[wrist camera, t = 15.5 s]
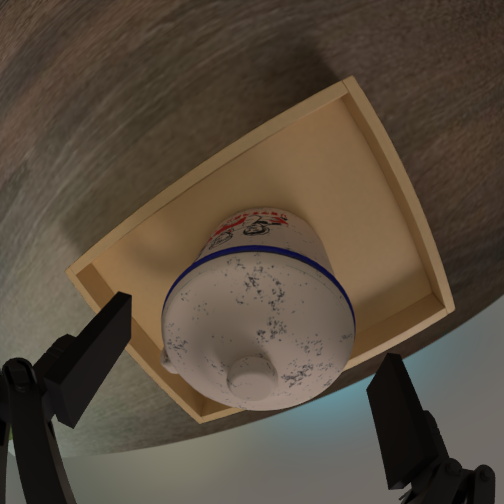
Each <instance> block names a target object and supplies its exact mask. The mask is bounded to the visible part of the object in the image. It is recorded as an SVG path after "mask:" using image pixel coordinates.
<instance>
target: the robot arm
mask: <svg viewBox="0 0 504 504" xmlns="http://www.w3.org/2000/svg"><path fill="white" fill-rule="evenodd" d="M131 322H132V295H130V294H127V293H124V292H120V291H118V292H117V293H116V294H115V295H114V296H113V297H112V298H111V300H110V301H109V302H108V303H107V304H106V305H105V306H104V307H103V308H102V309H101V310H100V311H99V313H98V314H97V315H96V316H95V317H94V318H93V319H92V320H91V321H90V323H89V324H88V325H87V326H86V327H85V328H84V329H83V330H82V332H81V333H80V334H79V335H78V336H77V337H74V336H72V335H69V334H66V335H64V336H62V337H60V338H58V339H57V340H56V341H55V342H54V343H53V344H52V346H51V347H50V348H49V349H48V350H47V351H46V353H44V354H43V355H42V357H41V358H40V359H39V360H38V361H37V362H36V363H35V364H34V366H33V367H32V364H31V363H30V362H29V361H28V360H26V359H24V358H17V357H16V358H12V359H10V360H8V361H7V362H6V363H5V364H4V365H3V367H2V373H3V376H4V377H3V376H0V504H5V492H6V489H5V488H6V466H7V453H8V442H9V434H10V426H11V429H12V436H13V443H14V449H15V455H16V460H17V465H18V470H19V475H20V480H21V483H22V488H23V491H24V496H25V499H26V503H27V504H77V503H76V501H75V498H74V495H73V493H72V490H71V487H70V484H69V481H68V478H67V475H66V472H65V469H64V466H63V462H62V459H61V455H60V452H59V448H58V444H57V441H56V437H55V433H54V428H53V424H52V421H51V419H52V417H53V416H54V414H56V417H57V419H58V421H59V422H61V423H63V424H65V425H67V426H69V427H71V428H73V429H74V427H75V426H76V424H77V422H78V421H79V419H80V417H81V416H82V414H83V412H84V411H85V409H86V408H87V406H88V404H89V403H90V401H91V400H92V398H93V396H94V395H95V393H96V392H97V390H98V388H99V387H100V385H101V384H102V382H103V381H104V379H105V378H106V376H107V374H108V373H109V371H110V370H111V368H112V367H113V365H114V364H115V362H116V361H117V359H118V358H119V356H120V355H121V353H122V352H123V350H124V349H125V347H126V346H127V344H128V343H129V341H130V340H131ZM366 391H367V395H368V399H369V403H370V407H371V410H372V415H373V419H374V423H375V427H376V432H377V436H378V440H379V445H380V449H381V454H382V459H383V464H384V468H385V474H386V479H387V484H388V489H389V490H393V489H403V488H404V487H405V486H407V485H408V484H409V483H410V482H411V486H412V488H411V489H410V490H409V491H408V492H406V493H405V494H404V495H403V496H401V497H400V498H399V500H401V499H403V498H404V497H405V498H404V499H403V501H402V503H401V504H494V503H495V473H494V471H493V470H492V469H491V468H490V467H489V466H487V465H480V466H478V467H477V468H476V469H475V470H474V471H473V470H468V469H462V466H461V464H460V463H459V462H458V461H457V460H455V459H453V458H449V455H448V452H447V450H446V447H445V444H444V442H443V439H442V436H441V435H440V431H439V429H438V428H437V424H436V421H435V418H434V417H433V416H432V415H431V413H430V412H429V411H427V410H425V411H424V410H423V409H422V406H421V404H420V401H419V399H418V396H417V394H416V392H415V389H414V387H413V384H412V382H411V379H410V377H409V375H408V372H407V370H406V368H405V365H404V363H403V361H402V358H401V356H400V354H393V353H387V355H386V357H385V358H384V360H383V362H382V364H381V366H380V367H379V369H378V371H377V372H376V374H375V376H374V378H373V379H372V381H371V383H370V384H369V386H368V388H367V389H366Z"/></svg>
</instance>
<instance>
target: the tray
mask: <svg viewBox="0 0 504 504" xmlns="http://www.w3.org/2000/svg"><path fill="white" fill-rule="evenodd" d="M258 207H270V208H277V209H281V210H285V211H287V212H290V213H292V214H294V215H296V216H298V217H300V218H301V219H303V220H304V221H305V222H306V223H308V224H309V225H310V226H311V227H312V228H313V229H314V231H315V232H316V233H317V235H318V236H319V238H320V239H321V241H322V243H323V246H324V248H325V251H326V253H327V256H328V258H329V261H330V263H331V266H332V269H333V271H334V274H335V276H336V279H337V281H338V282H339V283H340V284H341V286H342V287H343V288H344V290H345V292H346V293H347V295H348V297H349V299H350V302H351V304H352V307H353V311H354V315H355V322H356V333H355V340H354V345H353V349H352V352H351V355H350V358H349V360H348V362H347V364H346V366H345V367H344V369H343V371H344V370H347V369H349V368H351V367H353V366H355V365H357V364H359V363H361V362H363V361H365V360H367V359H369V358H371V357H373V356H375V355H377V354H379V353H381V352H383V351H385V350H387V349H389V348H391V347H393V346H395V345H396V344H398V343H400V342H402V341H404V340H406V339H407V338H409V337H411V336H413V335H414V334H416V333H418V332H420V331H421V330H423V329H425V328H427V327H428V326H430V325H432V324H433V323H435V322H437V321H438V320H440V319H441V318H443V317H445V316H446V315H447V314H449V313H451V312H452V311H454V310H455V306H454V302H453V298H452V295H451V291H450V288H449V284H448V281H447V278H446V274H445V271H444V268H443V265H442V262H441V259H440V256H439V253H438V250H437V247H436V244H435V241H434V238H433V236H432V233H431V230H430V228H429V225H428V222H427V220H426V217H425V215H424V212H423V210H422V207H421V205H420V202H419V200H418V198H417V195H416V193H415V191H414V188H413V186H412V184H411V181H410V179H409V177H408V175H407V173H406V171H405V168H404V166H403V164H402V162H401V160H400V158H399V156H398V154H397V152H396V150H395V148H394V146H393V144H392V142H391V140H390V138H389V136H388V134H387V132H386V131H385V129H384V127H383V125H382V123H381V121H380V120H379V118H378V116H377V114H376V112H375V111H374V109H373V107H372V106H371V104H370V102H369V100H368V99H367V97H366V95H365V94H364V92H363V90H362V89H361V87H360V86H359V84H358V82H357V81H356V79H355V78H354V76H353V75H351V76H349V77H347V78H345V79H343V80H342V81H339V82H337V83H335V84H333V85H331V86H329V87H327V88H325V89H324V90H322V91H320V92H318V93H316V94H314V95H312V96H311V97H309V98H307V99H305V100H303V101H302V102H300V103H298V104H296V105H294V106H293V107H291V108H289V109H287V110H286V111H284V112H282V113H280V114H279V115H277V116H275V117H274V118H272V119H270V120H269V121H267V122H265V123H264V124H262V125H260V126H259V127H257V128H255V129H254V130H252V131H251V132H249V133H247V134H246V135H244V136H243V137H241V138H239V139H238V140H236V141H235V142H233V143H232V144H230V145H228V146H227V147H225V148H224V149H222V150H221V151H219V152H218V153H216V154H215V155H213V156H212V157H210V158H209V159H207V160H206V161H204V162H203V163H201V164H200V165H198V166H197V167H196V168H194V169H193V170H191V171H190V172H188V173H187V174H186V175H184V176H183V177H181V178H180V179H178V180H177V181H176V182H174V183H173V184H172V185H170V186H169V187H167V188H166V189H165V190H163V191H162V192H161V193H159V194H158V195H157V196H155V197H154V198H152V199H151V200H150V201H149V202H147V203H146V204H145V205H143V206H142V207H141V208H139V209H138V210H137V211H135V212H134V213H133V214H132V215H130V216H129V217H128V218H127V219H125V220H124V221H123V222H121V223H120V224H119V225H118V226H116V227H115V228H114V229H113V230H112V231H110V232H109V233H108V234H107V235H105V236H104V237H103V238H102V239H101V240H99V241H98V242H97V243H96V244H95V245H93V246H92V247H91V248H90V249H89V250H88V251H86V252H85V253H84V254H83V255H82V256H81V257H80V258H78V259H77V260H76V261H75V262H74V263H73V264H72V265H70V266H69V267H68V268H67V269H66V270H65V273H66V274H67V276H68V277H69V279H70V280H71V282H72V283H73V284H74V286H75V287H76V288H77V290H78V291H79V292H80V294H81V295H82V296H83V298H84V299H85V300H86V302H87V303H88V304H89V306H90V307H91V308H92V310H93V311H94V312H95V313H96V315H97V314H98V313H99V311H100V310H101V309H102V308H103V307H104V306H105V305H106V304H107V303H108V302H109V301H110V300H111V298H112V297H113V296H114V295H115V294H116V293H117V292H118V291H120V292H124V293H127V294H130V295H132V322H131V340H130V341H129V343H128V344H127V346H126V347H125V349H126V350H127V351H128V353H129V354H130V355H131V356H132V357H133V358H134V359H135V360H136V361H137V363H138V364H139V365H140V366H141V367H142V368H143V369H144V370H145V371H146V372H147V373H148V374H149V375H150V376H151V377H152V379H153V380H154V381H155V382H156V383H157V384H158V385H159V386H160V387H161V388H162V389H163V390H164V391H165V392H166V393H167V394H168V395H169V396H170V397H171V398H172V399H173V400H174V401H176V402H177V403H178V404H179V405H180V406H181V407H182V408H183V409H184V410H185V411H186V412H187V413H188V414H189V415H190V416H192V417H193V418H194V419H195V420H196V421H197V422H198V423H203V422H207V421H210V420H214V419H217V418H221V417H224V416H227V415H230V414H234V413H237V412H240V411H243V410H246V409H240V408H235V407H231V406H228V405H225V404H222V403H219V402H217V401H215V400H212V399H210V398H208V397H206V396H205V395H203V394H201V393H200V392H198V391H197V390H196V389H194V388H193V387H192V386H191V385H189V384H188V383H187V382H186V381H185V380H184V379H183V378H182V377H181V376H180V374H179V373H178V374H174V373H170V372H169V371H167V370H166V369H165V368H164V367H163V366H162V365H161V363H160V354H161V351H162V349H163V347H164V343H163V339H162V333H161V315H162V309H163V304H164V301H165V298H166V296H167V294H168V292H169V290H170V288H171V286H172V285H173V283H174V282H175V281H176V279H177V278H178V277H179V276H180V275H181V274H182V273H183V272H184V271H185V270H186V269H187V268H188V267H189V266H191V265H192V263H193V262H194V260H195V259H196V257H197V256H198V254H199V252H200V251H201V249H202V248H203V246H204V245H205V243H206V242H207V240H208V239H209V237H210V236H211V234H212V233H213V231H214V230H215V229H216V228H217V227H218V226H219V225H220V224H221V223H222V222H223V221H224V220H226V219H227V218H229V217H230V216H232V215H234V214H236V213H238V212H241V211H243V210H247V209H251V208H258Z"/></svg>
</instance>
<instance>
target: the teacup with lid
mask: <svg viewBox="0 0 504 504" xmlns="http://www.w3.org/2000/svg"><path fill="white" fill-rule="evenodd" d="M161 333H162V339H163V343H164V347H163V349H162V351H161V354H160V363H161V365H162V366H163V367H164V368H165V369H166V370H167V371H169V372H170V373H174V374H178V373H179V374H180V376H181V377H182V378H183V379H184V380H185V381H186V382H187V383H188V384H189V385H191V386H192V387H193V388H194V389H196V390H197V391H198V392H200V393H201V394H203V395H205V396H206V397H208V398H210V399H212V400H215V401H217V402H219V403H222V404H225V405H228V406H231V407H235V408H240V409H247V410H276V409H282V408H287V407H291V406H294V405H297V404H300V403H303V402H305V401H307V400H309V399H311V398H313V397H315V396H316V395H318V394H319V393H321V392H322V391H324V390H325V389H326V388H327V387H329V386H330V385H331V384H332V383H333V382H334V381H335V380H336V379H337V377H338V376H339V375H340V374H341V372H342V371H343V369H344V367H345V366H346V364H347V362H348V360H349V358H350V355H351V352H352V349H353V345H354V340H355V333H356V322H355V315H354V311H353V307H352V304H351V302H350V299H349V297H348V295H347V293H346V292H345V290H344V288H343V287H342V286H341V284H340V283H339V282H338V281H337V279H336V276H335V274H334V271H333V269H332V266H331V263H330V261H329V258H328V256H327V253H326V251H325V248H324V246H323V243H322V241H321V239H320V238H319V236H318V235H317V233H316V232H315V231H314V229H313V228H312V227H311V226H310V225H309V224H308V223H306V222H305V221H304V220H303V219H301V218H300V217H298V216H296V215H294V214H292V213H290V212H287V211H285V210H281V209H277V208H270V207H258V208H251V209H247V210H243V211H241V212H238V213H236V214H234V215H232V216H230V217H229V218H227V219H226V220H224V221H223V222H222V223H221V224H220V225H219V226H218V227H217V228H216V229H215V230H214V231H213V233H212V234H211V236H210V237H209V239H208V240H207V242H206V243H205V245H204V246H203V248H202V249H201V251H200V252H199V254H198V256H197V257H196V259H195V260H194V262H193V263H192V265H191V266H189V267H188V268H187V269H186V270H185V271H184V272H183V273H182V274H181V275H180V276H179V277H178V278H177V279H176V281H175V282H174V283H173V285H172V286H171V288H170V290H169V292H168V294H167V296H166V298H165V301H164V304H163V309H162V315H161Z"/></svg>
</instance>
